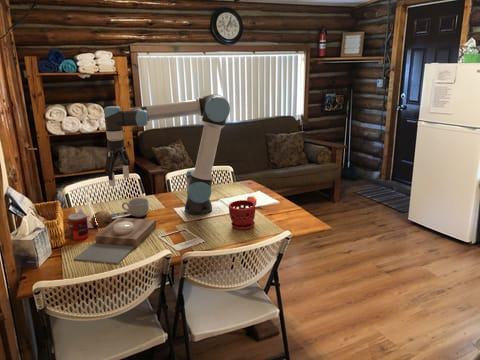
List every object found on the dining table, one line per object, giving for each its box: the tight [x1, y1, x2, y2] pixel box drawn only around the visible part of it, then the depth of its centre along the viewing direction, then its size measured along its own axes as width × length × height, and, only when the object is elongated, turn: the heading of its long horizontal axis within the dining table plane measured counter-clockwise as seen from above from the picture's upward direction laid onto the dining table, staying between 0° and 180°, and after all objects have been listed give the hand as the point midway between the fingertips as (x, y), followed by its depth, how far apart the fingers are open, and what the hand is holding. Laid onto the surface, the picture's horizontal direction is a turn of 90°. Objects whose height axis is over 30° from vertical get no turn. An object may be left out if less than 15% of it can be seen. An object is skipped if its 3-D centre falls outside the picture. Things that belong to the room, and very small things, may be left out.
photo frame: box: [158, 228, 206, 252], centre depth 181 cm, size 15×1×18 cm
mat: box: [73, 242, 135, 265], centre depth 168 cm, size 20×15×1 cm
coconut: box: [90, 210, 113, 227], centre depth 200 cm, size 10×10×8 cm
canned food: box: [67, 212, 90, 242], centre depth 183 cm, size 8×8×11 cm
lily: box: [69, 207, 95, 229], centre depth 192 cm, size 12×12×10 cm
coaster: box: [113, 222, 134, 234], centre depth 182 cm, size 9×9×2 cm
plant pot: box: [228, 199, 256, 231], centre depth 194 cm, size 13×13×12 cm
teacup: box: [121, 197, 150, 218], centre depth 210 cm, size 14×11×8 cm
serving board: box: [94, 217, 157, 248], centre depth 186 cm, size 20×22×4 cm
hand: (119, 181), depth 193 cm, fingers open, 13 cm apart
